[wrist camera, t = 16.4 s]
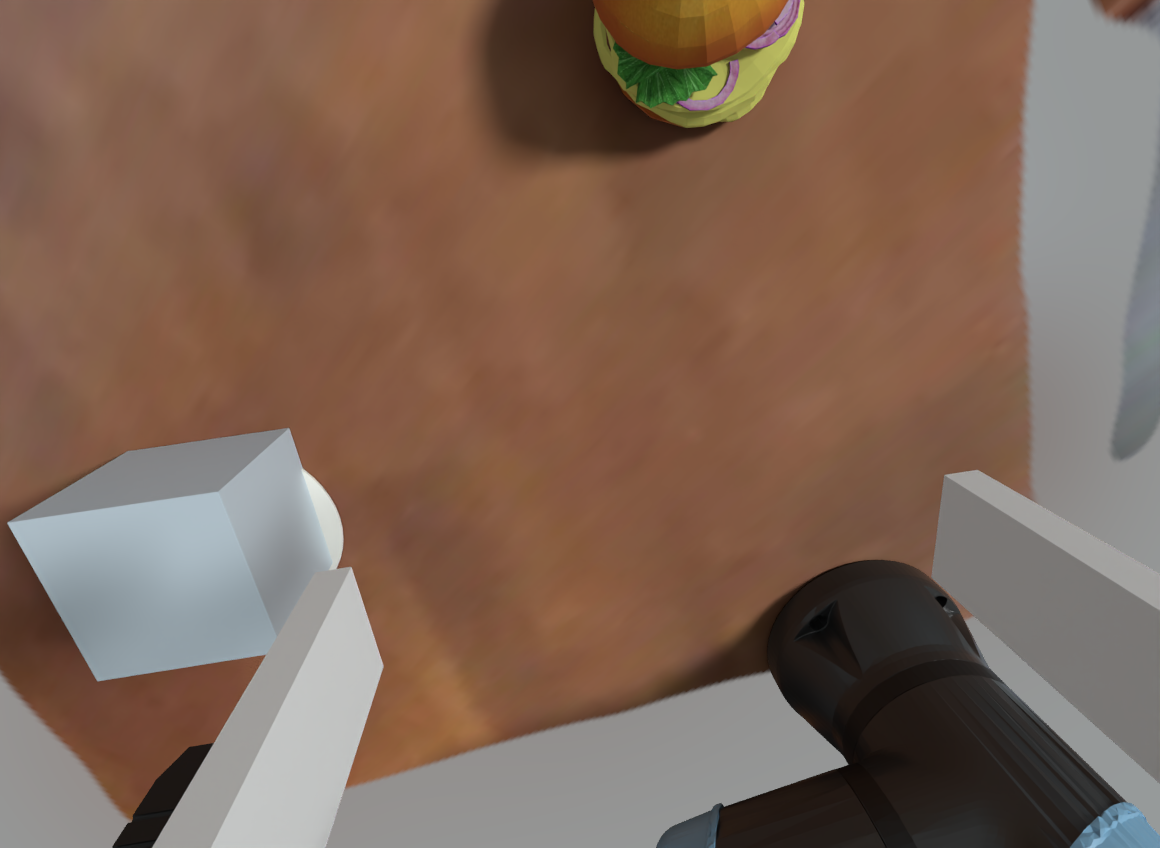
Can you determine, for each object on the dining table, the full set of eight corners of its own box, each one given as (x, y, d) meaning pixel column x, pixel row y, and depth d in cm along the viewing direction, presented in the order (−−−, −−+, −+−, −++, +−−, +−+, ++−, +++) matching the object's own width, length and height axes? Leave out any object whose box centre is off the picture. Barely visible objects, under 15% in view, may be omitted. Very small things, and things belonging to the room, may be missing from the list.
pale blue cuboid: (333, 560, 40) (283, 651, 31) (187, 583, 39) (97, 681, 31) (289, 428, 36) (218, 491, 28) (127, 451, 36) (7, 522, 27)
